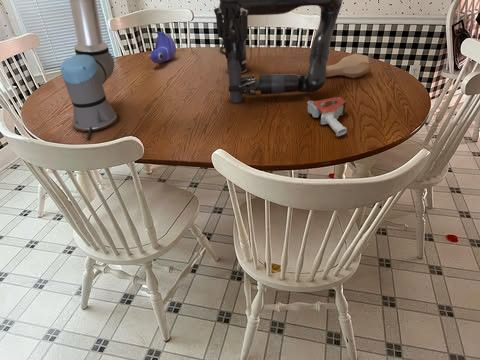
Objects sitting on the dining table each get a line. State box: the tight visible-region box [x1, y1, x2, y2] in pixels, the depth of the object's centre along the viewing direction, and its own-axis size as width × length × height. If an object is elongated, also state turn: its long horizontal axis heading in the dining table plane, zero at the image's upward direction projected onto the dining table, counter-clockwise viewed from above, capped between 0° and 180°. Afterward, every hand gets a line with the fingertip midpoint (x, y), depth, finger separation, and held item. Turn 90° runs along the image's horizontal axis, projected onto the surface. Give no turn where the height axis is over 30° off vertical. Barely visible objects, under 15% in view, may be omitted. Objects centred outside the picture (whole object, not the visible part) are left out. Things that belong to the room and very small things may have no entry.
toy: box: [149, 30, 177, 68], centre depth 183 cm, size 10×17×25 cm
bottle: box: [227, 60, 244, 104], centre depth 138 cm, size 5×5×18 cm
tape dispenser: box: [307, 96, 348, 137], centre depth 123 cm, size 18×5×20 cm
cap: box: [228, 51, 236, 60], centre depth 133 cm, size 4×4×2 cm
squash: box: [326, 52, 370, 79], centre depth 156 cm, size 11×20×9 cm, turn 92°
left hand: (234, 58), depth 133 cm, fingers closed on cap, 4 cm apart
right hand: (229, 86), depth 140 cm, fingers closed on bottle, 5 cm apart
